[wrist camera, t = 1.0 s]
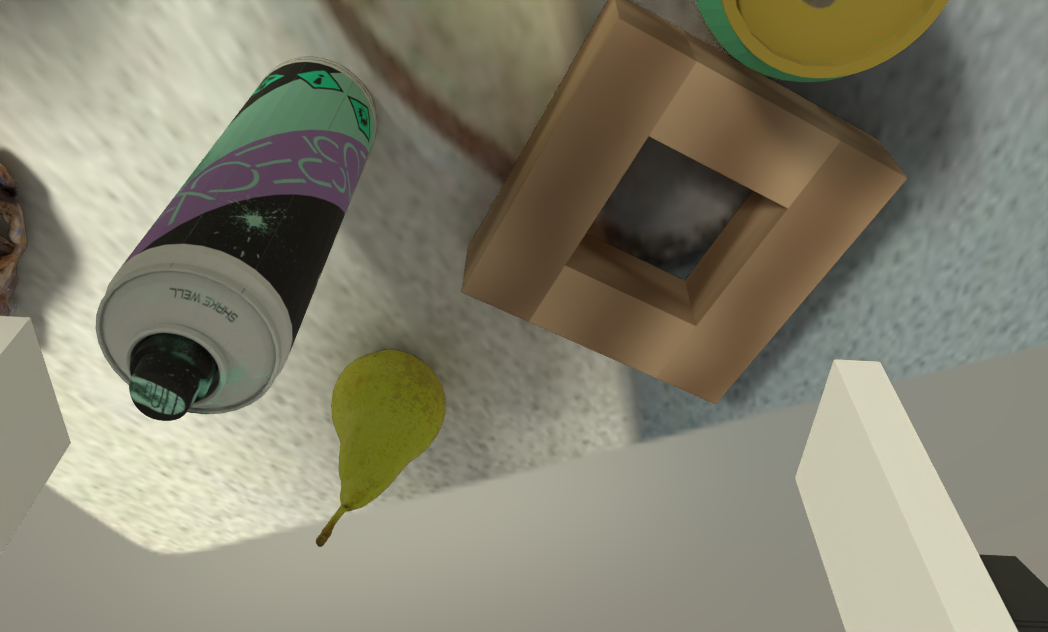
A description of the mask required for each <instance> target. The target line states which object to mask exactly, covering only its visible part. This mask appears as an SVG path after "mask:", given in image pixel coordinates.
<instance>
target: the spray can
mask: <svg viewBox="0 0 1048 632" xmlns="http://www.w3.org/2000/svg"><path fill="white" fill-rule="evenodd" d="M376 130H377V115H376V110H375V105H374V103H373V100H372V98H371V95H370V94H369V92H368V91H367V89H366V87H365V86H364V84H363V83H362V82H361V81H360V80H359V79H358V78H357V77H356V76H355V75H354V74H353V73H351V72H350V71H349V70H347V69H346V68H344V67H343V66H341V65H339V64H337V63H335V62H332V61H329V60H326V59H322V58H314V57H304V58H296V59H293V60H289V61H286V62H285V63H283V64H281V65H279V66H277V67H276V68H275V69H274V70H273V71H272V72H270V73H269V74H268V75H267V76H266V77H265V79H264V80H263V81H262V83H261V84H260V85H259V87H258V88H257V89H256V90H255V92H254V93H253V94H252V96H251V97H250V98H249V100H248V101H247V102H246V104H245V105H244V106H243V108H242V109H241V110H240V111H239V113H238V114H237V115H236V117H235V118H234V119H233V121H232V122H231V123H230V125H229V126H228V127H227V129H226V130H225V131H224V133H223V134H222V135H221V136H220V138H219V139H218V140H217V142H216V143H215V144H214V146H213V147H212V148H211V150H210V151H209V152H208V154H207V155H206V156H205V157H204V159H203V160H202V161H201V163H200V164H199V165H198V167H197V168H196V169H195V171H194V172H193V173H192V175H191V176H190V177H189V178H188V180H187V181H186V182H185V184H184V185H183V186H182V188H181V189H180V190H179V192H178V193H177V194H176V196H175V197H174V198H173V200H172V201H171V202H170V203H169V205H168V206H167V207H166V209H165V210H164V211H163V213H162V214H161V215H160V217H159V218H158V219H157V221H156V222H155V223H154V224H153V226H152V227H151V228H150V230H149V231H148V232H147V234H146V235H145V236H144V238H143V239H142V240H141V242H140V243H139V244H138V246H137V247H136V248H135V249H134V251H133V252H132V253H131V255H130V256H129V257H128V259H127V260H126V261H125V263H124V264H123V265H122V267H121V268H120V269H119V270H118V272H117V273H116V275H115V276H114V278H113V279H112V280H111V282H110V283H109V285H108V288H107V291H106V294H105V296H104V298H103V299H102V300H101V303H100V306H99V308H98V311H97V315H96V332H97V338H98V343H99V345H100V347H101V350H102V352H103V354H104V357H105V358H106V360H107V361H108V363H109V364H110V365H111V367H112V368H113V370H114V371H115V372H116V373H117V374H118V375H119V376H120V377H121V378H122V379H123V380H124V381H125V382H126V383H127V384H128V385H129V391H130V395H131V398H132V400H133V403H134V404H135V406H136V407H137V408H138V409H139V410H140V411H141V412H142V413H143V414H145V415H146V416H148V417H150V418H152V419H156V420H162V421H171V420H176V419H179V418H181V417H182V416H184V415H185V413H186V412H190V413H199V414H218V413H226V412H230V411H235V410H238V409H241V408H243V407H245V406H248V405H250V404H252V403H253V402H255V401H256V400H258V399H259V398H260V397H262V396H263V395H264V394H265V393H266V391H267V390H268V389H269V388H270V387H271V385H272V383H273V381H274V379H275V378H276V376H277V375H278V374H279V373H280V372H281V370H282V368H283V366H284V364H285V362H286V360H287V358H288V356H289V353H290V351H291V348H292V346H293V343H294V341H295V338H296V336H297V333H298V331H299V328H300V326H301V323H302V320H303V318H304V315H305V313H306V310H307V308H308V305H309V303H310V300H311V298H312V295H313V293H314V290H315V288H316V285H317V283H318V280H319V278H320V275H321V273H322V270H323V268H324V265H325V263H326V260H327V258H328V255H329V253H330V250H331V248H332V245H333V243H334V240H335V238H336V235H337V233H338V230H339V228H340V225H341V223H342V220H343V218H344V215H345V213H346V210H347V208H348V205H349V203H350V200H351V198H352V195H353V193H354V190H355V188H356V185H357V183H358V180H359V177H360V175H361V172H362V170H363V167H364V165H365V162H366V160H367V157H368V155H369V152H370V150H371V147H372V145H373V142H374V138H375V134H376Z"/></svg>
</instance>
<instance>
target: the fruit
mask: <svg viewBox="0 0 1048 632" xmlns="http://www.w3.org/2000/svg"><path fill="white" fill-rule="evenodd" d="M331 408H332V419H333V423H334V426H335V429H336V432H337V435H338V437H339V439H340V455H339V475H340V479H341V492H340V501H341V506H340V508H339V509H338V511H337V512H336V513H335V514H334V516H333V517H332V518H331V520H330V521H329V522H328V524H327V525H326V527H325V528H324V529H323V530H322V532H321V534H320V535H319V536H318V537H317V539H316V543H317V545H318V546H319V547H321V546H323V545H324V544H325V542H326V541H327V539H328V538H329V537H330V535H331V533H332V530H333V527H334V525H335V524H336V522H337V521H338V520H339V518H340V517H341V516H342V515H343V514H344V513H345V512H346V511H352V510H355V509H358V508H361V507H363V506H365V505H367V504H368V503H370V502H371V501H373V500H374V499H375V498H377V497H378V496H379V495H380V494H381V493H382V492H383V491H384V490H386V489H387V488H388V487H389V486H390V484H391V483H392V482H393V481H394V480H395V478H396V477H397V476H398V475H399V474H400V472H401V471H402V470H403V469H404V468H405V467H406V466H407V464H408V463H409V462H410V461H412V460H413V459H415V458H416V457H418V456H419V455H420V454H422V453H423V452H424V451H425V450H426V449H427V448H428V447H429V446H430V445H431V443H432V442H433V441H434V439H435V437H436V436H437V434H438V432H439V430H440V428H441V426H442V423H443V420H444V416H445V395H444V391H443V388H442V385H441V383H440V381H439V380H438V378H437V376H436V374H435V373H434V372H433V371H432V370H431V368H430V367H429V366H428V365H427V364H425V363H424V362H423V361H421V360H420V359H418V358H417V357H415V356H413V355H411V354H408V353H406V352H403V351H398V350H382V351H379V352H375V353H371V354H368V355H365V356H362V357H360V358H358V359H356V360H355V361H353V362H352V363H351V364H349V365H348V366H347V367H346V368H345V370H344V371H343V372H342V374H341V375H340V376H339V378H338V380H337V383H336V385H335V387H334V390H333V396H332V404H331Z"/></svg>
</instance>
